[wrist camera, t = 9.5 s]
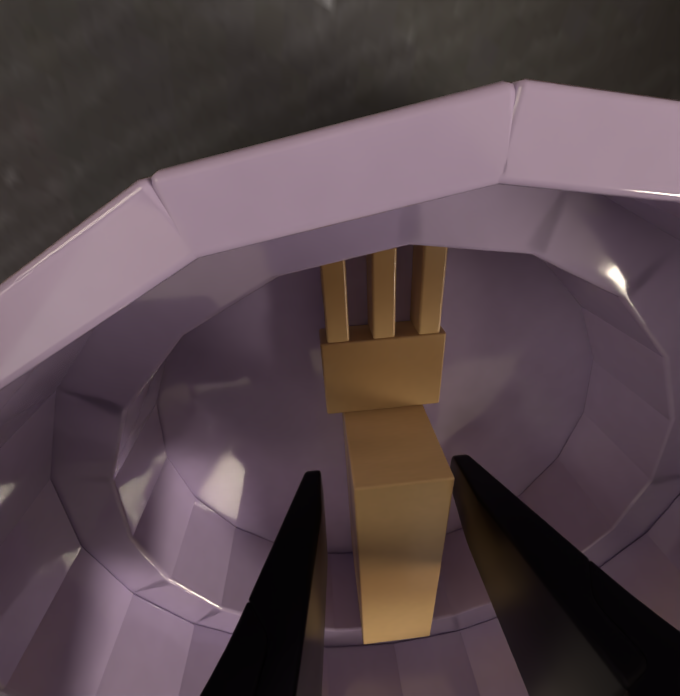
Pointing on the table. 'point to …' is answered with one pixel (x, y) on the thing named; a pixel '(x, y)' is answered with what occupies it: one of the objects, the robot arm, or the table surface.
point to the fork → (391, 438)
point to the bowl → (308, 384)
